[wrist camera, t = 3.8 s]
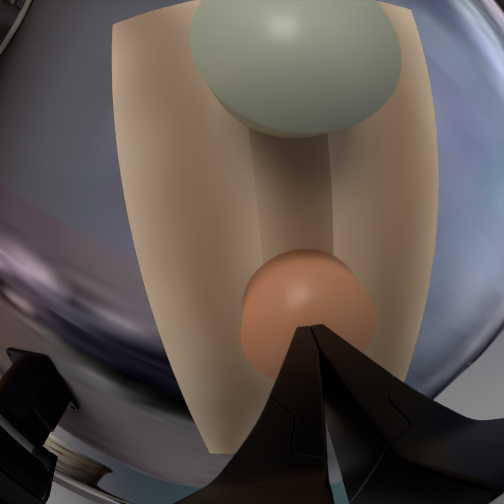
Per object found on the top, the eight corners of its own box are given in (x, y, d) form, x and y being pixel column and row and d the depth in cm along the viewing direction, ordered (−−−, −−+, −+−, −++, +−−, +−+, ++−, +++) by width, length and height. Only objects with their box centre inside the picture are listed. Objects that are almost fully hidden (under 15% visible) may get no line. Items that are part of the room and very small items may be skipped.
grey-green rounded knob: (226, 149, 10) (199, 143, 5) (214, 43, 8) (186, -28, 3) (344, 140, 9) (414, 134, 5) (328, 38, 8) (376, -27, 3)
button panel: (214, 421, 18) (210, 453, 15) (139, 46, 9) (113, 24, 7) (372, 403, 17) (383, 432, 14) (383, 31, 9) (410, 9, 6)
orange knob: (250, 315, 14) (249, 388, 9) (239, 231, 12) (231, 280, 8) (335, 306, 14) (367, 372, 9) (336, 222, 12) (382, 264, 7)
